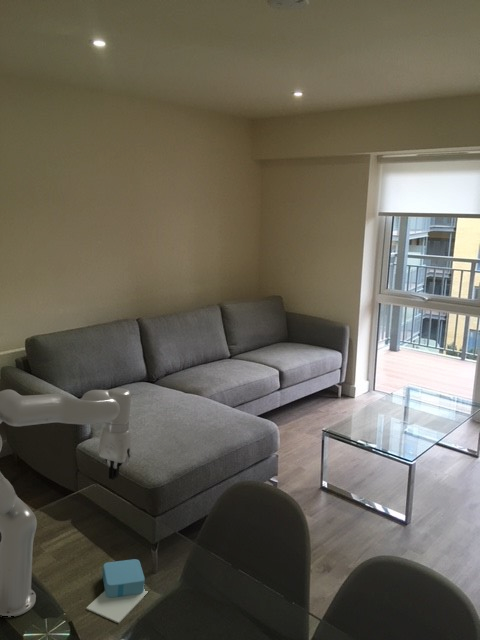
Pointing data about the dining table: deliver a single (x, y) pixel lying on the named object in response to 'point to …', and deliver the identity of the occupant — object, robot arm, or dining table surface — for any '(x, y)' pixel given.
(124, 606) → the mat
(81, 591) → the dining table surface
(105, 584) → the data package
